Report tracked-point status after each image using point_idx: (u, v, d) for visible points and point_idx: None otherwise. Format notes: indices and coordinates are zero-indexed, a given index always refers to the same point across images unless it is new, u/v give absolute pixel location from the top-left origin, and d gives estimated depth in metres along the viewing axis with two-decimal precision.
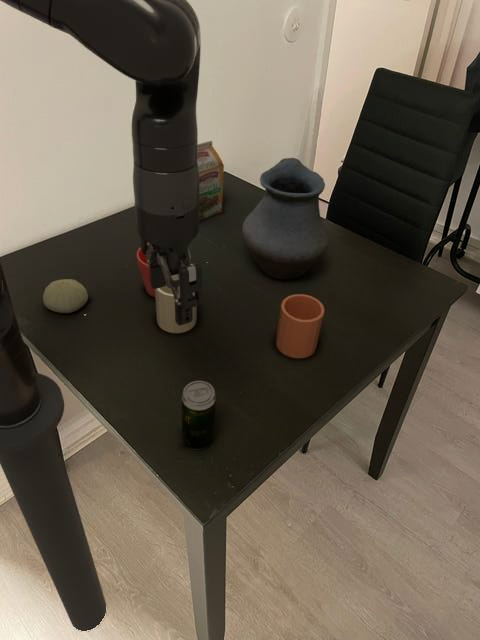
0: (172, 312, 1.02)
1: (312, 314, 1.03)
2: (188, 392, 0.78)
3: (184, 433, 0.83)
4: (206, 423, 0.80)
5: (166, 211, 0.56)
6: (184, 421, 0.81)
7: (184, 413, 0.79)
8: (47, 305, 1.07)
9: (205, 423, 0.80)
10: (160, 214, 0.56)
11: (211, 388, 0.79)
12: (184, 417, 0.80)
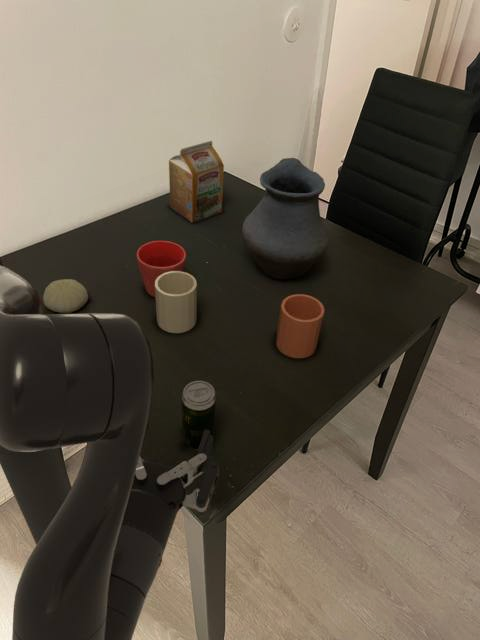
0: (172, 312, 1.02)
1: (312, 314, 1.03)
2: (188, 392, 0.78)
3: (184, 433, 0.83)
4: (206, 423, 0.80)
5: None
6: (184, 421, 0.81)
7: (184, 413, 0.79)
8: (47, 305, 1.07)
9: (205, 423, 0.80)
10: None
11: (211, 388, 0.79)
12: (184, 417, 0.80)
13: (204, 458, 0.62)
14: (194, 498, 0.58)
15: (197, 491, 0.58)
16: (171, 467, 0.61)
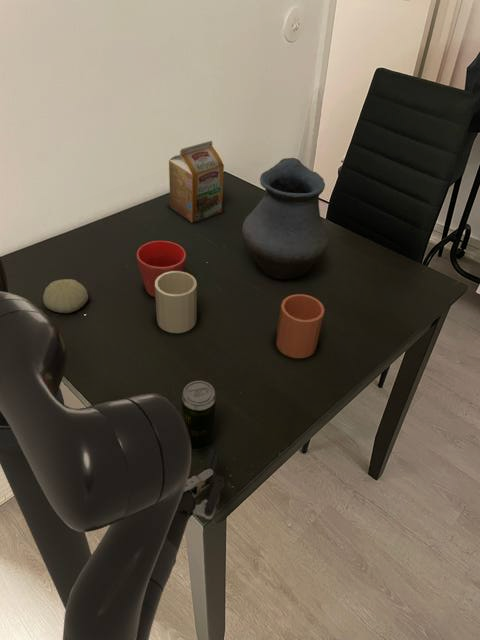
0: (172, 312, 1.02)
1: (312, 314, 1.03)
2: (188, 392, 0.78)
3: None
4: (206, 423, 0.80)
5: None
6: None
7: (184, 413, 0.79)
8: (47, 305, 1.07)
9: (205, 423, 0.80)
10: None
11: (211, 388, 0.79)
12: (184, 417, 0.80)
13: (211, 473, 0.72)
14: (203, 507, 0.69)
15: (205, 502, 0.69)
16: None
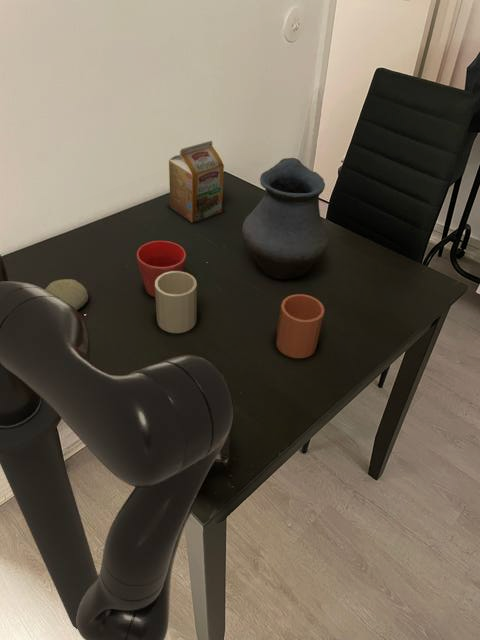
0: (172, 312, 1.02)
1: (312, 314, 1.03)
2: None
3: None
4: None
5: None
6: None
7: None
8: None
9: None
10: None
11: None
12: None
13: None
14: (218, 454, 0.76)
15: None
16: None
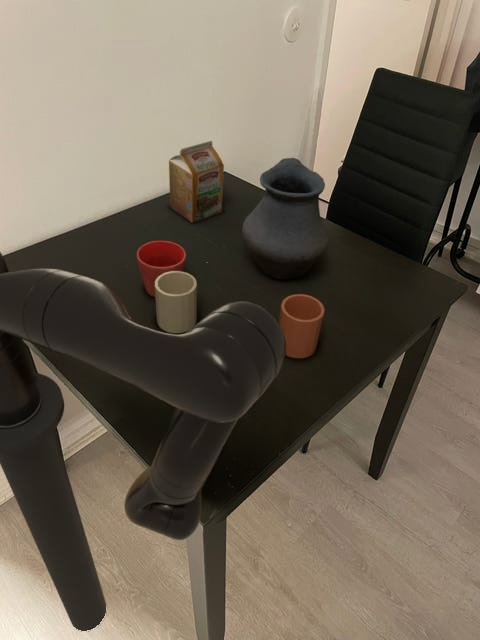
0: (172, 312, 1.02)
1: (312, 314, 1.03)
2: None
3: None
4: None
5: None
6: None
7: None
8: None
9: None
10: None
11: None
12: None
13: None
14: None
15: None
16: None
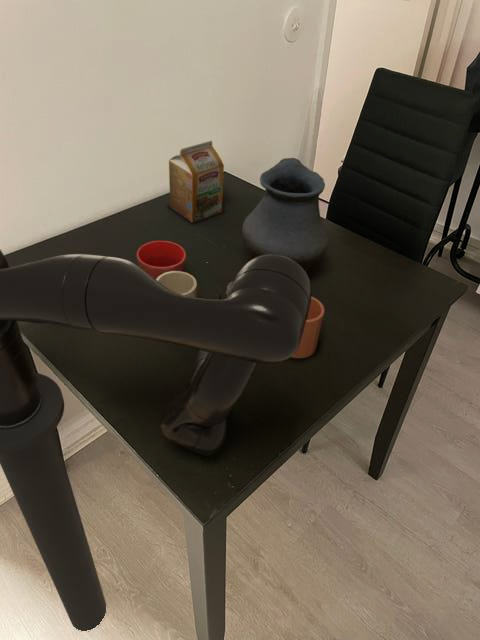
0: None
1: (312, 314, 1.03)
2: None
3: None
4: None
5: None
6: None
7: None
8: None
9: None
10: None
11: None
12: None
13: None
14: None
15: None
16: None
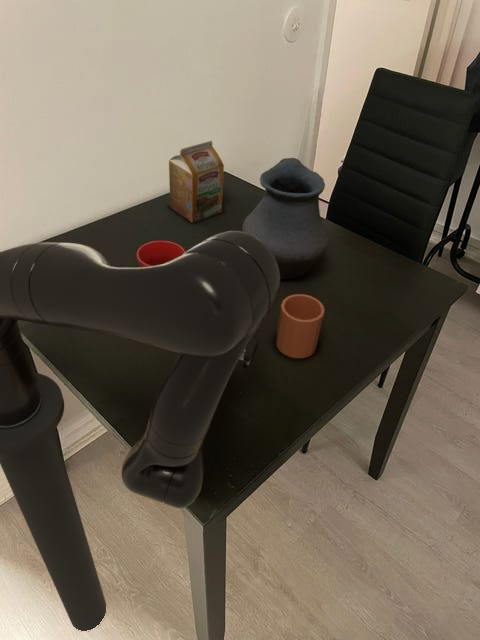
0: None
1: (312, 314, 1.03)
2: None
3: None
4: None
5: None
6: None
7: None
8: None
9: None
10: None
11: None
12: None
13: None
14: (242, 356, 0.82)
15: (244, 351, 0.82)
16: None
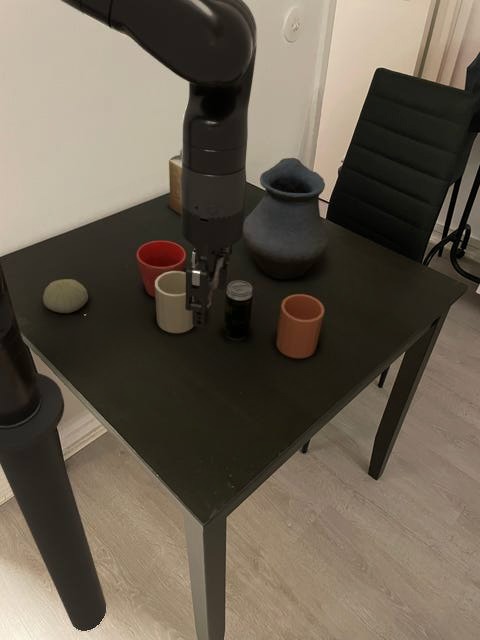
0: (172, 312, 1.02)
1: (312, 314, 1.03)
2: (231, 287, 0.99)
3: (226, 325, 1.04)
4: (244, 313, 1.00)
5: (191, 209, 0.56)
6: (227, 313, 1.01)
7: (227, 305, 1.00)
8: (47, 305, 1.07)
9: (244, 313, 1.00)
10: (187, 210, 0.57)
11: (249, 285, 1.00)
12: (227, 309, 1.01)
13: None
14: None
15: None
16: None
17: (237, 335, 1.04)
